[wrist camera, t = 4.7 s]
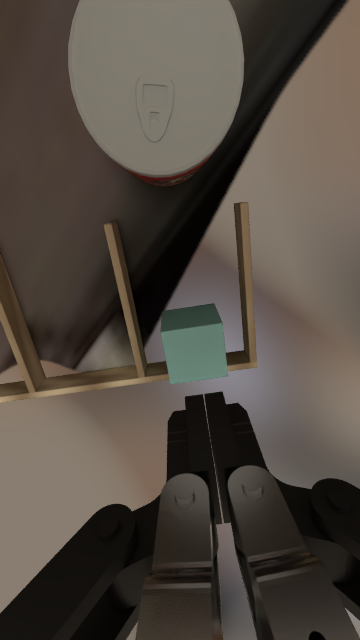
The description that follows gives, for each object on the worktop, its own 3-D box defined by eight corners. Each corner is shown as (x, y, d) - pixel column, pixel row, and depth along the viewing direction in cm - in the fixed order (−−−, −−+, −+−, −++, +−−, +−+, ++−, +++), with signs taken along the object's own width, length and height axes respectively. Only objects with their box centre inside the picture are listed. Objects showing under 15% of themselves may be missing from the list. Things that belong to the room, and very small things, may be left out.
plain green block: (170, 357, 30) (170, 385, 26) (162, 311, 28) (160, 332, 24) (219, 350, 30) (228, 377, 25) (214, 303, 28) (222, 323, 24)
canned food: (129, 197, 25) (100, 193, 14) (99, 81, 22) (34, -28, 11) (220, 175, 24) (257, 155, 14) (202, 53, 21) (231, -85, 11)
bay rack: (-57, 397, 31) (-75, 412, 29) (-130, 259, 26) (-160, 264, 23) (250, 354, 30) (257, 367, 28) (241, 202, 25) (248, 202, 23)
